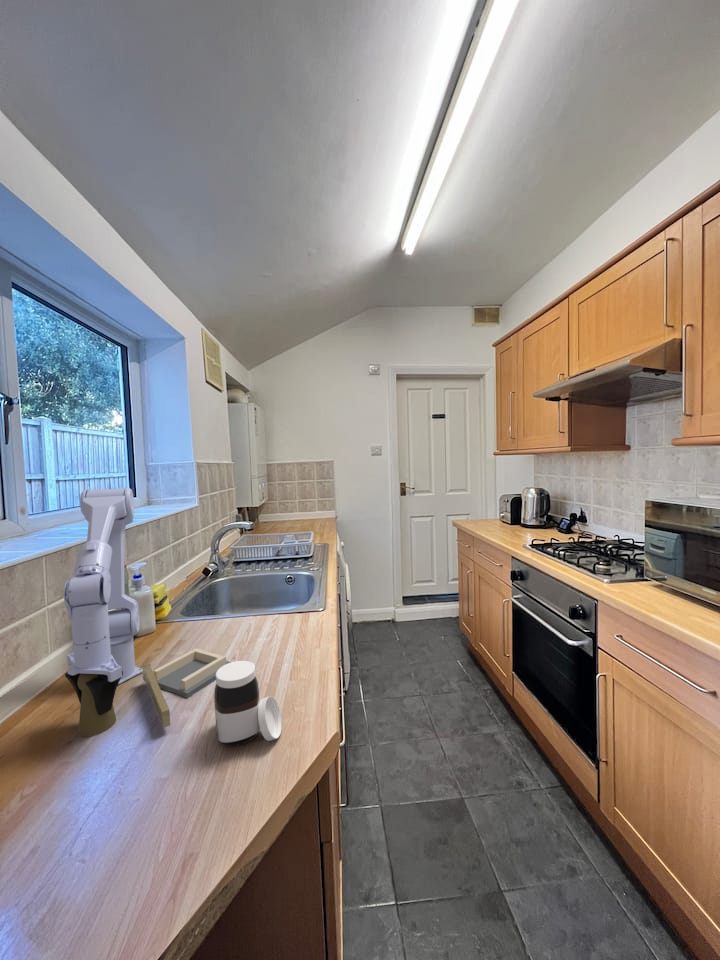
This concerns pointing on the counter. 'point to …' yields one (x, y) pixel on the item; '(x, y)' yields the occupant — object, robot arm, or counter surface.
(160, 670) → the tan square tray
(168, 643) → the counter surface
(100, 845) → the counter surface
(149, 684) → the bar
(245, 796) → the counter surface
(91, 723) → the brown rounded piece
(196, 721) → the counter surface
